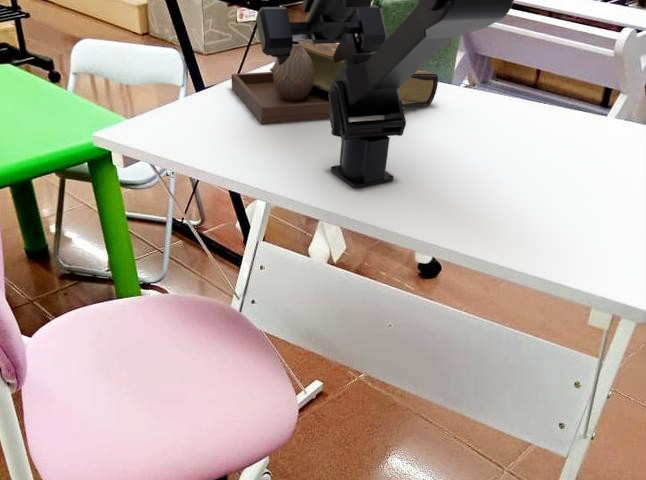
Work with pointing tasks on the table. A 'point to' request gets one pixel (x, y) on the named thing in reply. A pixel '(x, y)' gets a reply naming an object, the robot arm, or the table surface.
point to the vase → (294, 74)
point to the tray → (278, 100)
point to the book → (412, 91)
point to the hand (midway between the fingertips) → (307, 60)
